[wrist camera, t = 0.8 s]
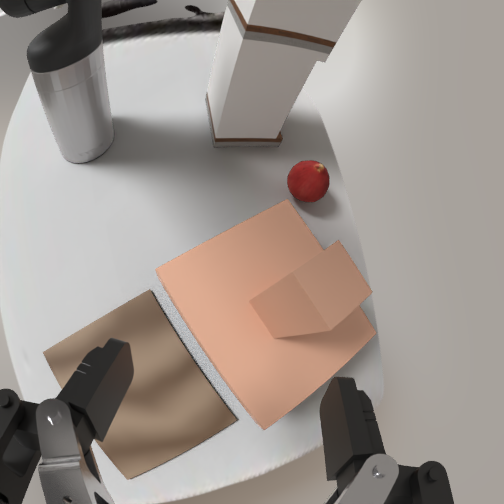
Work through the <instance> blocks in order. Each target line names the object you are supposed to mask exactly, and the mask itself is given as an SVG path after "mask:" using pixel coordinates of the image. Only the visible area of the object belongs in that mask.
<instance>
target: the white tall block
mask: <svg viewBox="0 0 504 504" xmlns="http://www.w3.org/2000/svg"><path fill="white" fill-rule="evenodd" d="M360 2H361V0H229V1H228V4H227V8H226V12H225V15H224V19H223V23H222V27H221V31H220V35H219V39H218V43H217V47H216V52H215V56H214V61H213V65H212V70H211V74H210V79H209V84H208V89H207V94H206V99H205V100H206V106H207V111H208V117H209V123H210V129H211V135H212V140H213V146H214V147H234V146H267V147H279V145H280V143H281V141H282V139H283V138H282V135H281V132H280V130H281V128H282V126H283V124H284V122H285V120H286V118H287V116H288V114H289V112H290V110H291V108H292V106H293V105H294V103H295V101H296V99H297V97H298V95H299V93H300V91H301V89H302V87H303V86H304V84H305V82H306V80H307V78H308V76H309V74H310V72H311V70H312V69H313V67H314V65H315V63H316V61H321V62H325V61H326V60H327V58H328V56H329V55H330V53H331V51H332V49H333V47H334V46H335V44H336V42H337V41H338V39H339V37H340V36H341V34H342V32H343V30H344V29H345V27H346V25H347V24H348V22H349V20H350V18H351V17H352V15H353V14H354V12H355V10H356V9H357V7H358V5H359V3H360Z"/></svg>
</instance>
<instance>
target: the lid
mask: <svg viewBox="0 0 504 504" xmlns="http://www.w3.org/2000/svg"><path fill="white" fill-rule="evenodd" d="M155 270H156V273H157V276H158V278H159V280H160V282H161V283H162V285H163V287H164V289H165V290H166V292H167V294H168V295H169V297H170V299H171V301H172V302H173V304H174V306H175V307H176V309H177V310H178V312H179V314H180V315H181V317H182V319H183V320H184V322H185V323H186V325H187V327H188V328H189V330H190V331H191V333H192V334H193V336H194V337H195V339H196V341H197V342H198V344H199V345H200V347H201V348H202V350H203V351H204V353H205V354H206V356H207V357H208V359H209V360H210V361H211V363H212V364H213V366H214V367H215V369H216V370H217V372H218V373H219V374H220V376H221V377H222V379H223V380H224V381H225V383H226V384H227V386H228V387H229V388H230V390H231V391H232V392H233V394H234V395H235V396H236V398H237V399H238V400H239V402H240V403H241V404H242V406H243V407H244V408H245V410H246V411H247V412H248V413H249V415H250V416H251V417H252V419H253V420H254V421H255V422H256V424H258V425H259V426H260V427H261V428H262V429H263V430H265V429H267V428H268V427H269V426H271V425H272V424H274V423H275V422H276V421H278V420H279V419H280V418H282V417H283V416H284V415H286V414H287V413H288V412H290V411H291V410H292V409H293V408H295V407H296V406H297V405H298V404H300V403H301V402H302V401H303V400H305V399H306V398H307V397H308V396H310V395H311V394H312V393H313V392H314V391H316V390H317V389H318V388H319V387H320V386H321V385H323V384H324V383H325V382H326V381H327V380H328V379H329V378H331V377H332V376H333V375H334V374H335V373H336V372H337V371H338V370H339V369H340V368H342V367H343V366H344V365H345V364H346V363H347V362H348V361H349V360H350V359H351V358H352V357H353V356H354V355H355V354H356V353H357V352H358V351H359V350H360V349H361V348H362V347H363V346H364V345H365V344H366V343H367V342H368V341H369V340H370V339H371V338H372V337H373V336H374V335H375V334H376V332H375V330H374V328H373V327H372V325H371V323H370V322H369V320H368V318H367V317H366V315H365V313H364V312H363V310H362V309H361V307H360V304H361V303H362V302H363V301H364V300H365V299H366V298H367V297H368V296H369V295H370V294H371V293H372V290H371V289H370V287H369V286H368V284H367V282H366V281H365V279H364V278H363V276H362V275H361V273H360V271H359V270H358V268H357V267H356V265H355V264H354V262H353V261H352V259H351V257H350V256H349V254H348V253H347V251H346V250H345V248H344V247H343V245H342V244H341V243H340V241H339V240H338V241H336V242H335V243H334V244H332V245H331V246H329V247H328V248H326V249H325V250H323V248H322V247H321V245H320V244H319V243H318V241H317V240H316V238H315V237H314V235H313V234H312V232H311V231H310V229H309V228H308V227H307V225H306V224H305V222H304V221H303V220H302V218H301V217H300V215H299V214H298V212H297V211H296V210H295V208H294V207H293V206H292V204H291V203H290V201H289V200H288V199H286V200H284V201H282V202H281V203H279V204H277V205H275V206H273V207H271V208H269V209H267V210H265V211H263V212H261V213H259V214H257V215H255V216H253V217H251V218H249V219H247V220H245V221H244V222H242V223H240V224H238V225H236V226H234V227H232V228H230V229H228V230H226V231H225V232H223V233H221V234H219V235H217V236H215V237H213V238H211V239H209V240H208V241H206V242H204V243H202V244H200V245H198V246H196V247H195V248H193V249H191V250H189V251H187V252H185V253H184V254H182V255H180V256H178V257H176V258H175V259H173V260H171V261H169V262H167V263H165V264H164V265H162V266H160V267H158V268H156V269H155Z"/></svg>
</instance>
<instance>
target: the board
mask: <svg viewBox="0 0 504 504" xmlns="http://www.w3.org/2000/svg"><path fill="white" fill-rule="evenodd" d="M110 338H115V339H118V340H122V341H125V342H128V343H129V344H130V348H131V354H132V360H133V366H134V376H133V380H132V382H131V384H130V386H129V388H128V390H127V392H126V394H125V396H124V398H123V400H122V402H121V404H120V407H119V409H118V411H117V413H116V415H115V417H114V419H113V421H112V423H111V425H110V427H109V430H108V432H107V434H106V436H105V438H104V440H103V442H101V441H99V440H96V439H95V441H96V442H97V443H98V445H99V446H100V447H101V449H102V450H103V451H104V453H105V454H106V455H107V456H108V458H109V459H110V460H111V461H112V462H113V464H114V465H115V466H116V467H117V468H118V470H119V471H120V472H121V473H122V474H123V475H124V476H125V477H126V479H127V480H128V479H131V478H133V477H135V476H137V475H139V474H142V473H144V472H146V471H148V470H150V469H152V468H154V467H156V466H158V465H160V464H162V463H164V462H166V461H168V460H170V459H172V458H174V457H176V456H178V455H180V454H181V453H183V452H185V451H187V450H189V449H190V448H192V447H194V446H196V445H198V444H199V443H201V442H203V441H204V440H206V439H208V438H209V437H211V436H213V435H214V434H216V433H218V432H219V431H221V430H222V429H224V428H226V427H227V426H229V425H230V424H232V423H233V422H235V421H236V420H237V419H236V418H235V417H234V415H233V414H232V413H231V412H230V410H229V409H228V408H227V406H226V405H225V404H224V402H223V401H222V400H221V398H220V397H219V396H218V394H217V393H216V392H215V390H214V389H213V388H212V386H211V385H210V383H209V382H208V381H207V379H206V378H205V376H204V375H203V374H202V372H201V371H200V369H199V368H198V366H197V365H196V363H195V362H194V360H193V359H192V357H191V356H190V354H189V353H188V351H187V350H186V348H185V347H184V345H183V344H182V342H181V341H180V339H179V337H178V336H177V334H176V333H175V331H174V330H173V328H172V326H171V325H170V323H169V321H168V320H167V318H166V316H165V315H164V313H163V311H162V310H161V308H160V306H159V305H158V303H157V301H156V299H155V298H154V296H153V294H152V292H151V291H150V289H149V290H148V291H146V292H144V293H142V294H141V295H139V296H137V297H136V298H134V299H132V300H130V301H129V302H127V303H125V304H123V305H122V306H120V307H118V308H117V309H115V310H113V311H111V312H110V313H108V314H106V315H105V316H103V317H101V318H99V319H98V320H96V321H94V322H93V323H91V324H89V325H88V326H86V327H84V328H83V329H81V330H79V331H78V332H76V333H74V334H72V335H71V336H69V337H67V338H66V339H64V340H62V341H61V342H59V343H57V344H56V345H54V346H53V347H51V348H49V349H48V350H46V351H44V352H43V353H44V356H45V358H46V360H47V362H48V364H49V366H50V368H51V370H52V372H53V374H54V376H55V377H56V379H57V381H58V383H59V385H60V387H61V388H62V389H63V387H64V386H65V385H66V383H67V382H68V380H69V379H70V377H71V376H72V374H73V373H74V371H76V370H77V367H78V366H79V364H80V363H82V360H83V359H84V357H85V356H86V355H87V353H88V352H90V351H91V350H93V349H94V348H96V347H97V346H99V347H102V348H103V347H104V346H105V344H106V343H107V341H108V340H109V339H110Z"/></svg>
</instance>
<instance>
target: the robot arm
mask: <svg viewBox="0 0 504 504" xmlns="http://www.w3.org/2000/svg"><path fill="white" fill-rule="evenodd" d="M65 3H68V13H67V14H66V15H65V16H64V17H62V18H61V19H60V20H58V21H57V22H55V23H54V24H52V25H51V26H49V27H48V28H46V29H45V30H43V31H42V32H41V33H40V34H38V35H37V36H36V37H35V38H34V39H33V41H32V42H31V43H30V45H29V46H28V49H27V59H28V62H29V66H30V69H31V72H32V76H33V79H34V82H35V85H36V88H37V91H38V94H39V97H40V100H41V103H42V106H43V109H44V111H45V114H46V117H47V119H48V122H49V125H50V127H51V130H52V132H53V135H54V137H55V140H56V142H57V144H58V147H59V149H60V151H61V153H62V155H63V157H64V158H65V159H66V160H67V161H70V162H73V163H84V162H88V161H91V160H93V159H95V158H97V157H99V156H100V155H101V154H103V153H104V152H105V151H106V150H107V149H108V148H109V147H110V145H111V143H112V141H113V139H114V128H113V122H112V116H111V109H110V103H109V96H108V89H107V81H106V73H105V63H104V54H103V41H102V25H101V24H102V23H101V0H0V8H1V9H2V10H3V11H4V12H5V13H6V14H8V15H9V16H12V17H16V18H19V17H24V16H28V15H31V14H34V13H37V12H40V11H43V10H46V9H49V8H52V7H55V6H58V5H61V4H65ZM133 376H134V366H133V360H132V354H131V348H130V344H129V343H128V342H125V341H122V340H118V339H115V338H110V339H109V340H108V341H107V343H106V344H105V346H104V347H103V348H102V347H99V346H97V347H96V348H94V349H93V350H91V351H90V352H88V353H87V355H86V356H85V357H84V359H83V360H82V363H80V364H79V366H78V367H77V370H76V371H74V373H73V374H72V376H71V377H70V379H69V380H68V382H67V383H66V385H65V386H64V387H63V389H62V390H61V392H60V393H59V395H58V396H57V397H56V398H55V399H47V400H45V401H43V402H41V403H40V404H37V403H32V402H27V401H22V400H20V399H19V397H18V395H17V394H16V393H15V392H14V391H13V390H11V389H1V390H0V504H22V501H23V498H24V496H25V493H26V491H27V488H28V486H29V483H30V481H31V478H32V475H33V473H34V471H35V469H36V466H37V464H38V462H39V460H40V457H41V455H42V464H39V467H38V471H39V476H40V480H41V485H42V488H43V492H44V496H45V500H46V503H47V504H115V503H114V501H113V499H112V497H111V496H110V494H109V492H108V491H107V489H106V487H105V485H104V482H103V480H102V477H101V474H100V472H99V469H98V466H97V463H96V460H95V457H94V454H93V451H92V448H91V443H92V441H93V439H96V440H99V441H101V442H103V440H104V438H105V436H106V434H107V432H108V430H109V427H110V425H111V423H112V421H113V419H114V417H115V415H116V413H117V411H118V409H119V407H120V404H121V402H122V400H123V398H124V396H125V394H126V392H127V390H128V388H129V386H130V384H131V382H132V380H133ZM373 411H374V410H373V406H372V403H371V400H370V399H369V397H368V396H367V395H366V393H365V392H364V391H363V390H357V387H356V384H355V381H354V379H353V378H348V377H334V378H333V379H332V381H331V383H330V385H329V387H328V389H327V391H326V393H325V395H324V397H323V399H322V401H321V404H320V420H321V428H322V436H323V445H324V453H325V463H326V472H327V481H329V480H337V487H336V488H335V489H334V491H333V492H332V493H331V495H330V496H329V497H328V499H327V500H326V501H325V502H324V504H454V501H453V497H452V492H451V488H450V484H449V480H448V476H447V473H446V470H445V468H444V467H443V466H442V465H441V464H440V463H438V462H435V461H428V462H426V463H424V464H423V465H421V466H420V467H410V466H403V465H398V464H397V462H396V461H395V460H394V459H393V458H392V457H390V456H388V455H386V453H385V450H384V446H383V442H382V439H381V435H380V431H379V428H378V424H377V421H376V417H375V414H374V413H373Z"/></svg>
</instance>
